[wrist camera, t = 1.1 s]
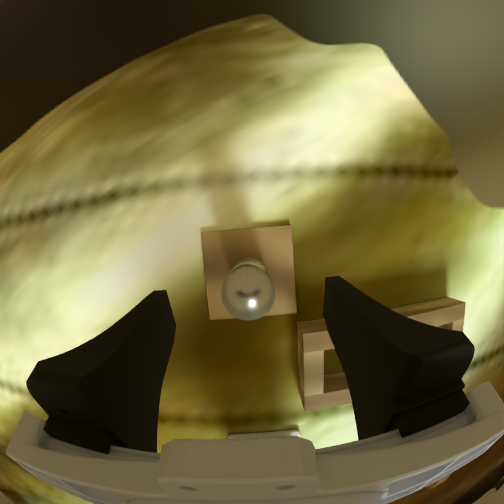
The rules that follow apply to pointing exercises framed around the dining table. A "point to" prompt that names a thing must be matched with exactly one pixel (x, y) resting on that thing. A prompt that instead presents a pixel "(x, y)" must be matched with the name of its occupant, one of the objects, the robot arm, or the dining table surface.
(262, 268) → the pin
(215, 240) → the cork coaster
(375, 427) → the robot arm
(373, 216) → the dining table surface
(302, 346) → the wooden rectangular frame
